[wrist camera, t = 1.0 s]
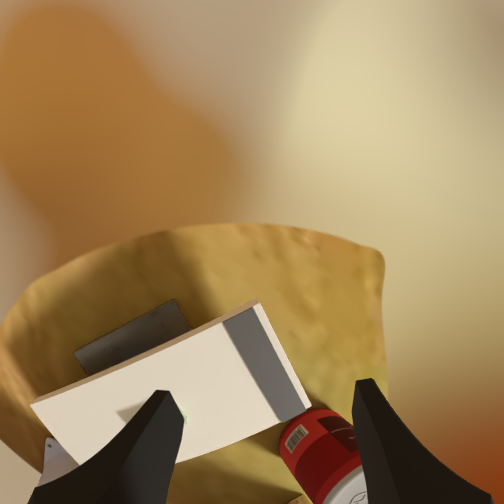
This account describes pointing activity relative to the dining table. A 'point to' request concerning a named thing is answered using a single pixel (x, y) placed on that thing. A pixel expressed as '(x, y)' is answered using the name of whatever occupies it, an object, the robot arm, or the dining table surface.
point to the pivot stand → (133, 338)
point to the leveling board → (185, 388)
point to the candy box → (300, 500)
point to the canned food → (324, 457)
